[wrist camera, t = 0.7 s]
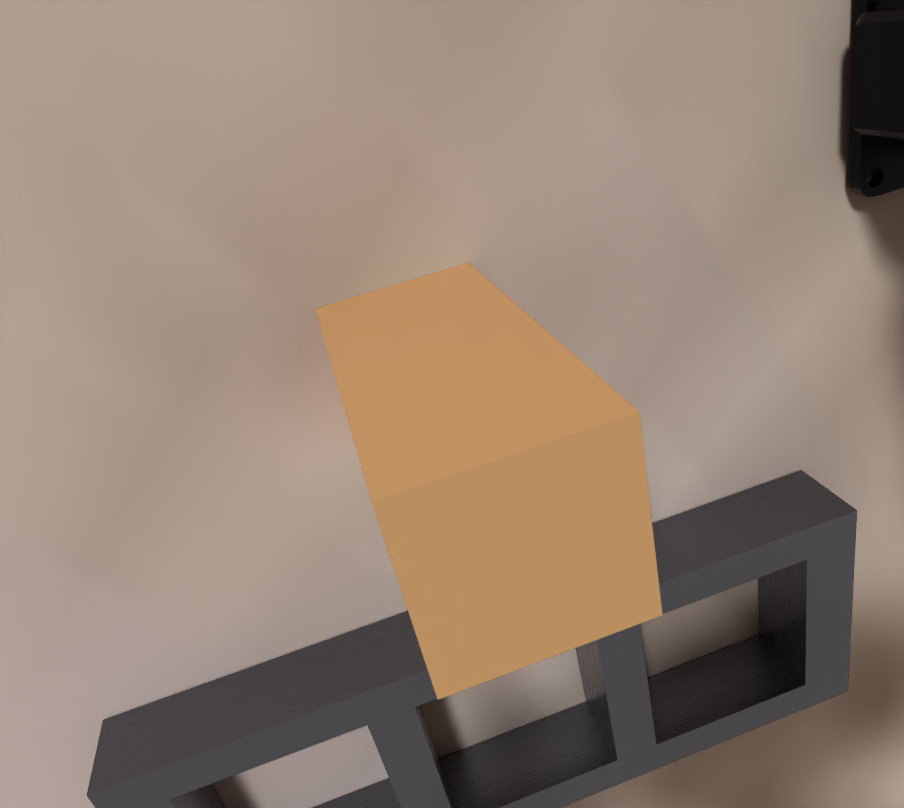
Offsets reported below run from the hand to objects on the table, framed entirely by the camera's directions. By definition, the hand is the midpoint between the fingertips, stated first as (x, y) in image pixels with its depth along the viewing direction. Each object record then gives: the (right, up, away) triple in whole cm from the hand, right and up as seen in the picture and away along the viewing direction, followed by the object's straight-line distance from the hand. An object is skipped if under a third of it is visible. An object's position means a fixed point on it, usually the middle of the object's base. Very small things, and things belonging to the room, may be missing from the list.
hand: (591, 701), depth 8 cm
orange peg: (-3, +5, +11) cm, 12 cm away
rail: (0, -6, +16) cm, 17 cm away
